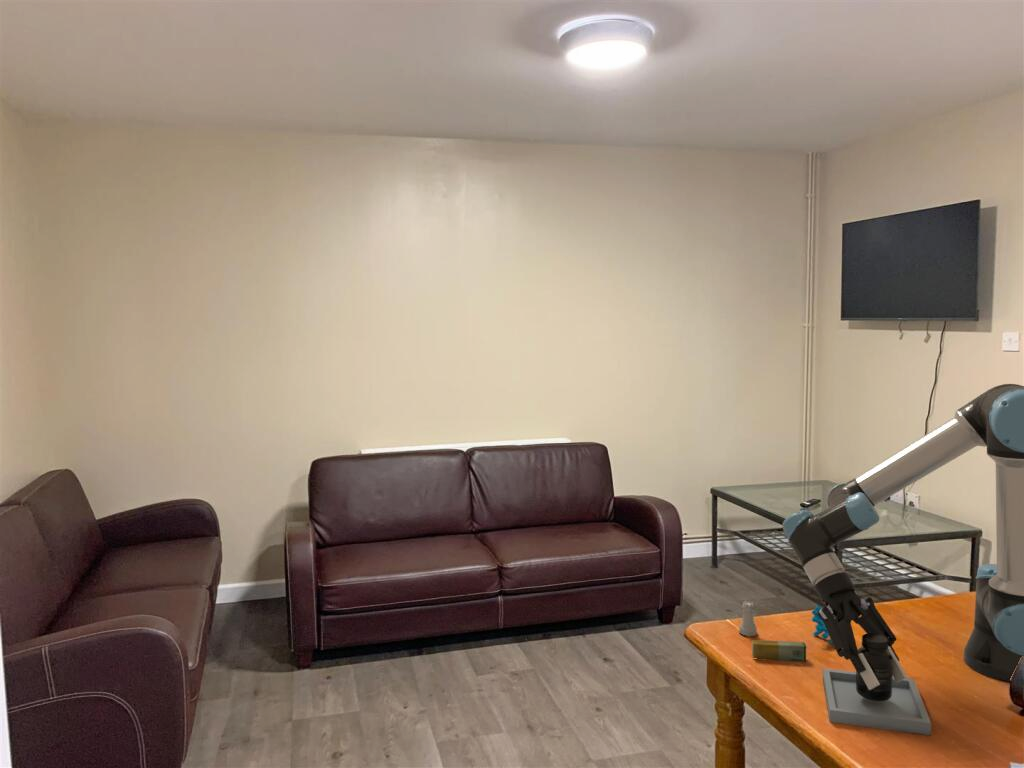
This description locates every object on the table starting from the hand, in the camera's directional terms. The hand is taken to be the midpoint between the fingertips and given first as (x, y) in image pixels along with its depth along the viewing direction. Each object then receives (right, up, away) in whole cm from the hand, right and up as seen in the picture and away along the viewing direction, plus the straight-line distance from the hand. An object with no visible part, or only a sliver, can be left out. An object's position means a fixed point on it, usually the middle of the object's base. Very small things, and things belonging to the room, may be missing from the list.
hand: (888, 683), depth 158 cm
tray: (-1, -6, +4) cm, 7 cm away
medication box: (-13, -4, +26) cm, 29 cm away
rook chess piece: (-17, -3, +39) cm, 42 cm away
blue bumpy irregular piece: (+2, -3, +35) cm, 35 cm away
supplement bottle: (-1, -4, +4) cm, 6 cm away
